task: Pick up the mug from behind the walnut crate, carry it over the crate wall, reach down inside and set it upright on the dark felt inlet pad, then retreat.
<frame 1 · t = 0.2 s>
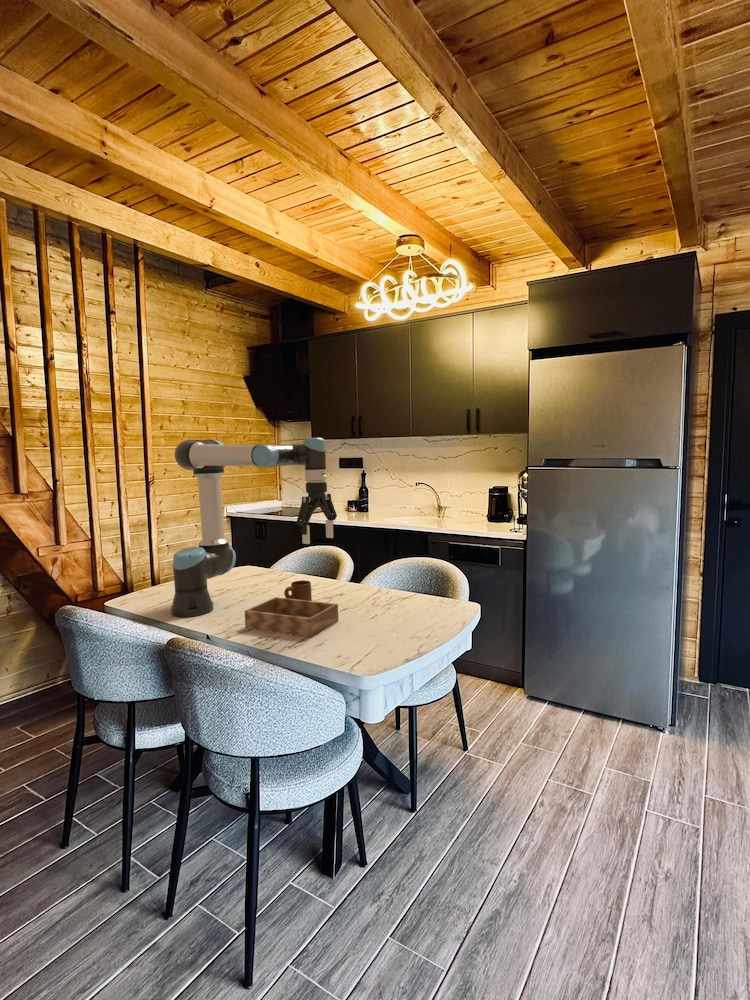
hand: (318, 540, 194), 27 cm above the table, fingers open, 13 cm apart
inlet pad: (292, 622, 185), in the crate, point 1 cm above the table
crate: (292, 624, 185), on the table
mug: (297, 608, 205), on the table
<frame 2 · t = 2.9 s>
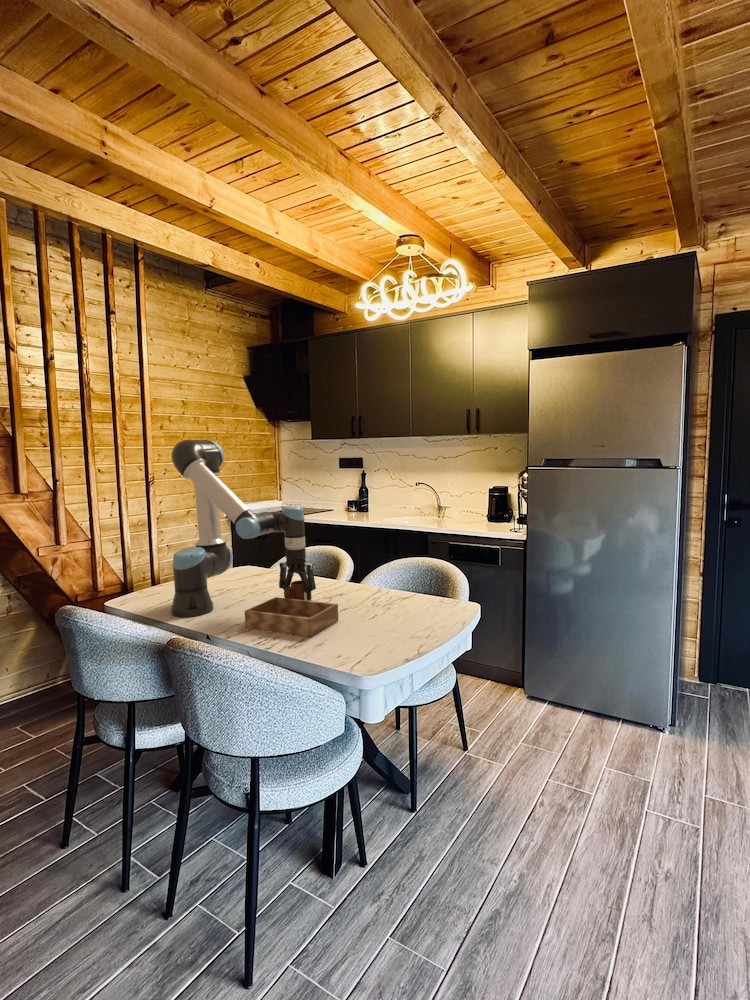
hand: (298, 607, 204), 0 cm above the table, fingers closed on mug, 7 cm apart
mug: (297, 608, 205), on the table, touching gripper
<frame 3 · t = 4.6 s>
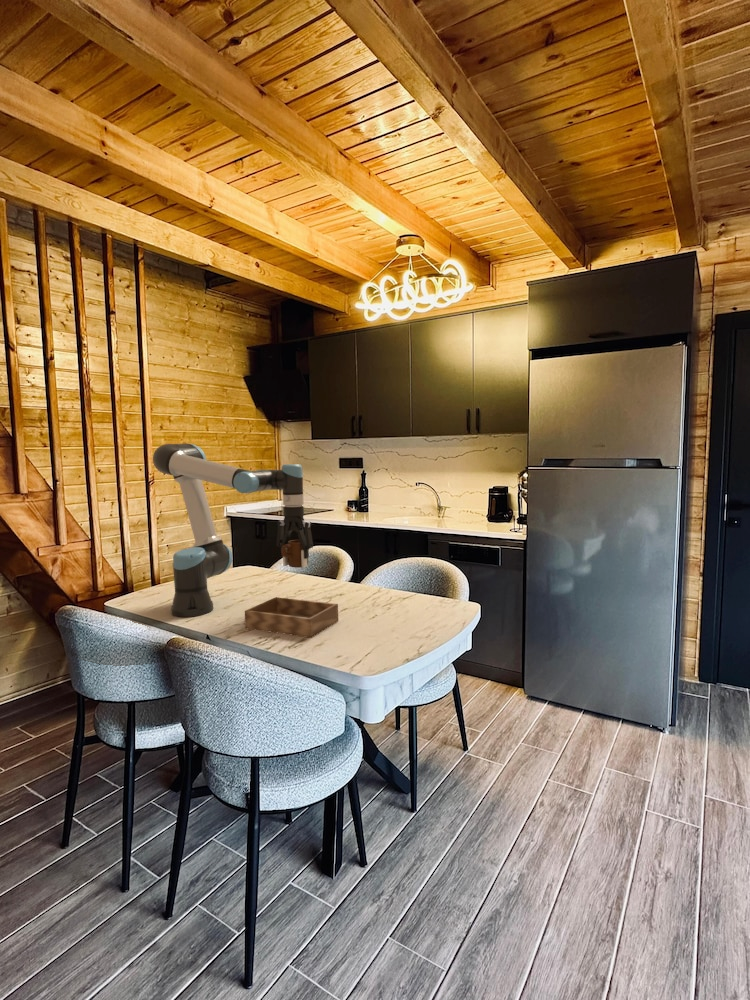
hand: (295, 566, 203), 16 cm above the table, fingers closed on mug, 7 cm apart
mug: (294, 567, 203), point 16 cm above the table, touching gripper
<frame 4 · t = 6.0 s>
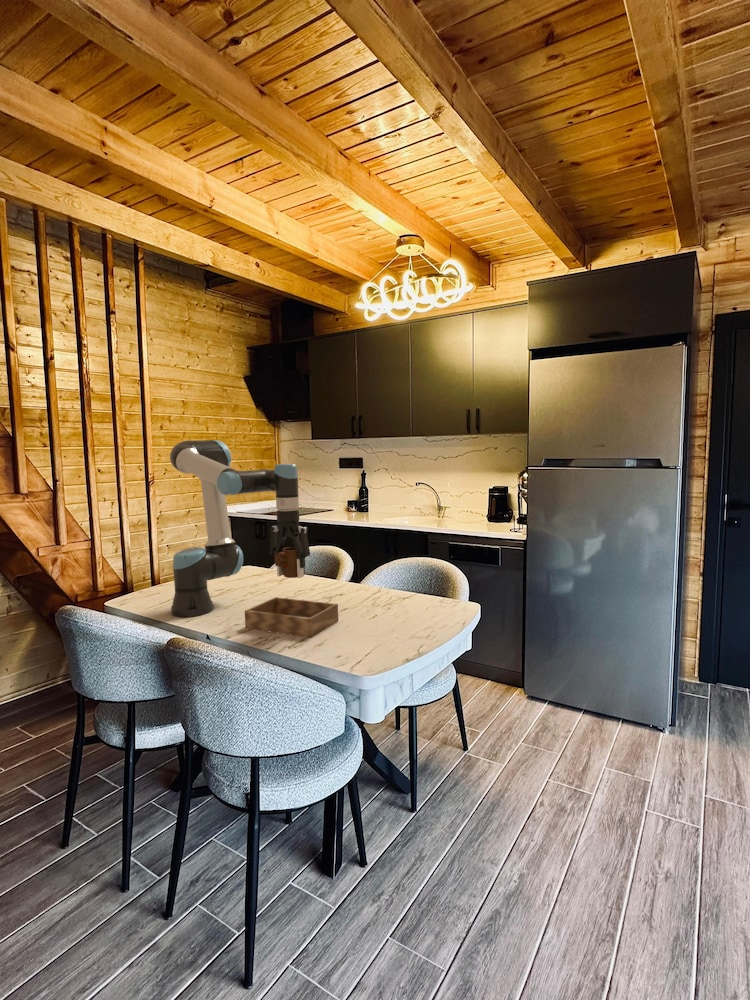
hand: (290, 576, 184), 17 cm above the table, fingers closed on mug, 7 cm apart
mug: (289, 577, 184), point 16 cm above the table, touching gripper
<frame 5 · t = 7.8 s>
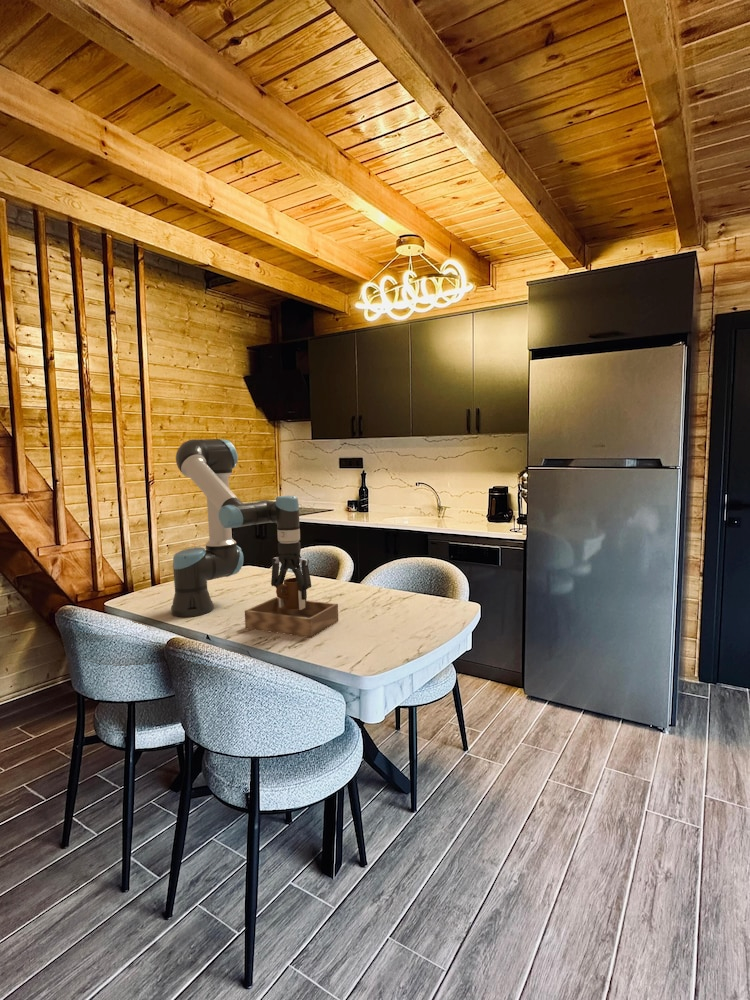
hand: (292, 607, 185), 6 cm above the table, fingers closed on mug, 7 cm apart
mug: (291, 608, 185), point 6 cm above the table, touching gripper
when the fingers open (3 cm above the table, at t = 9.0 s): mug drops 1 cm, resting on inlet pad.
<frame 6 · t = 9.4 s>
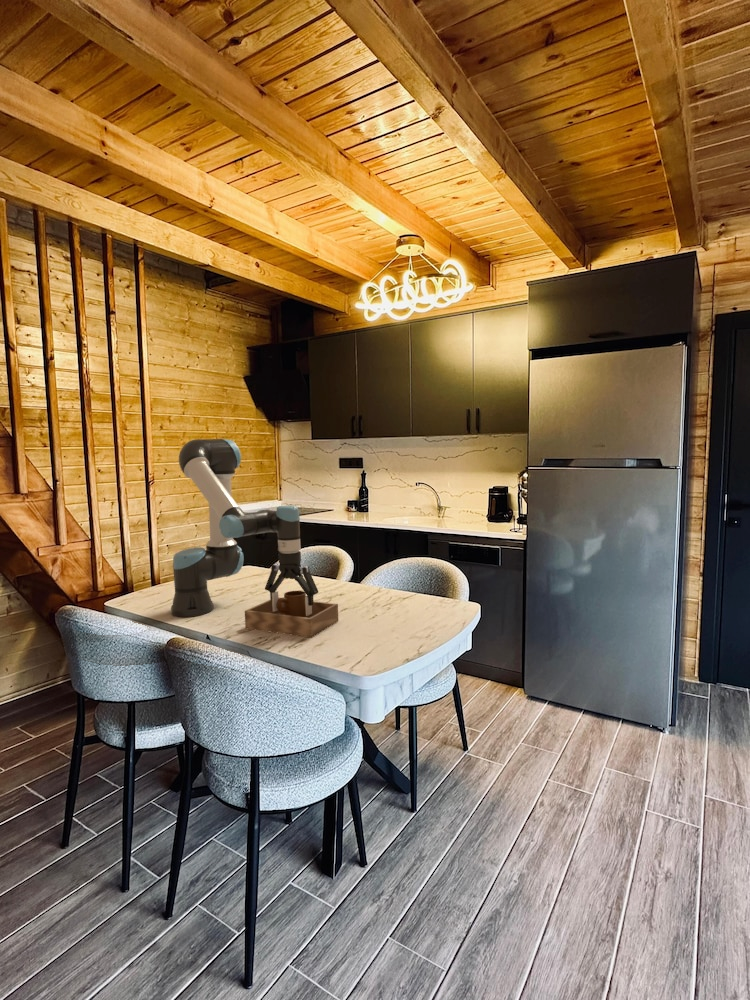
hand: (292, 612, 185), 4 cm above the table, fingers open, 13 cm apart
mug: (291, 621, 186), point 1 cm above the table, touching inlet pad
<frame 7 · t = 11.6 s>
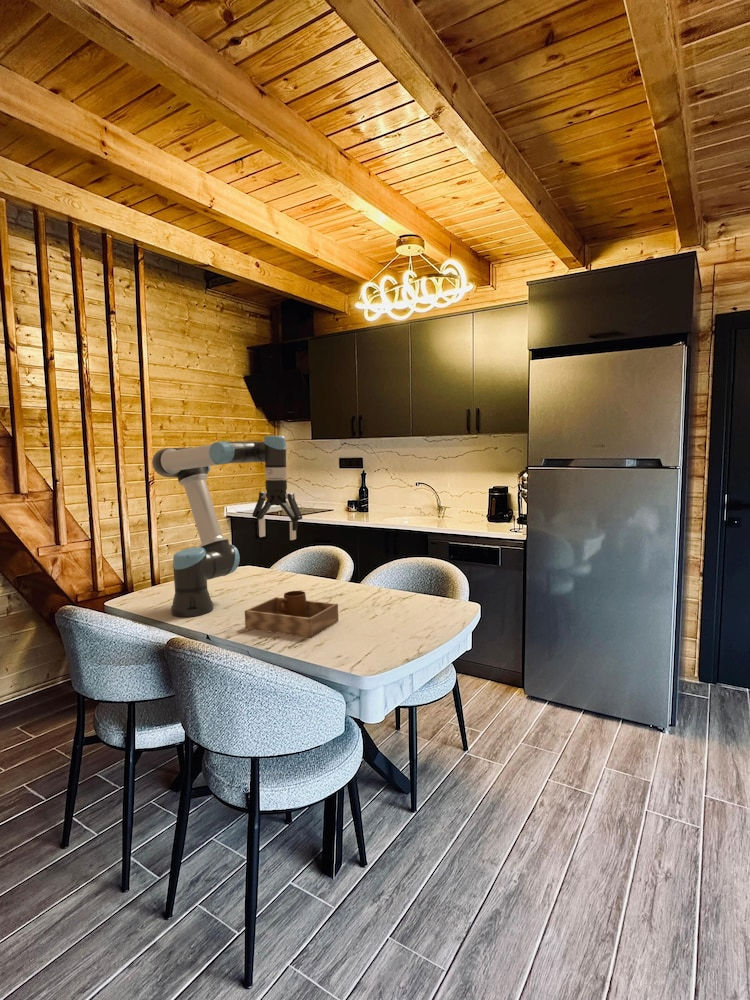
hand: (277, 538, 195), 28 cm above the table, fingers open, 13 cm apart
nothing on the table moved.
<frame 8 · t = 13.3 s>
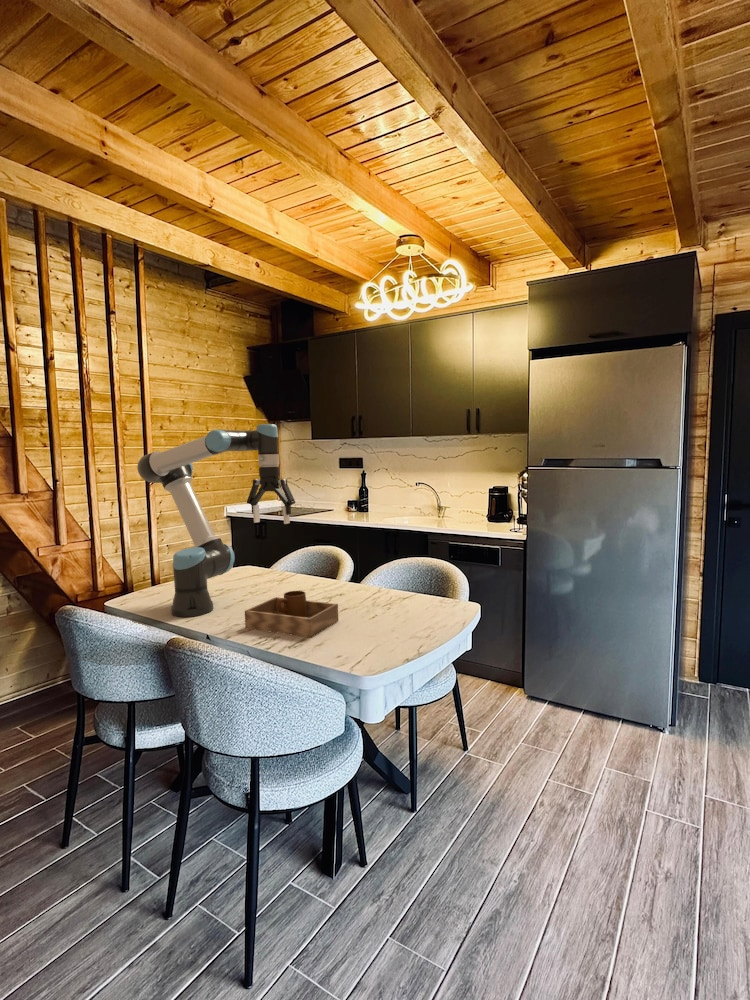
hand: (271, 523, 202), 33 cm above the table, fingers open, 13 cm apart
nothing on the table moved.
at the end: mug inside the target area on the crate (0.7 cm from its centre), point 0.7 cm above the crate's base; mug tilted 0°; the gripper is holding nothing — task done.
